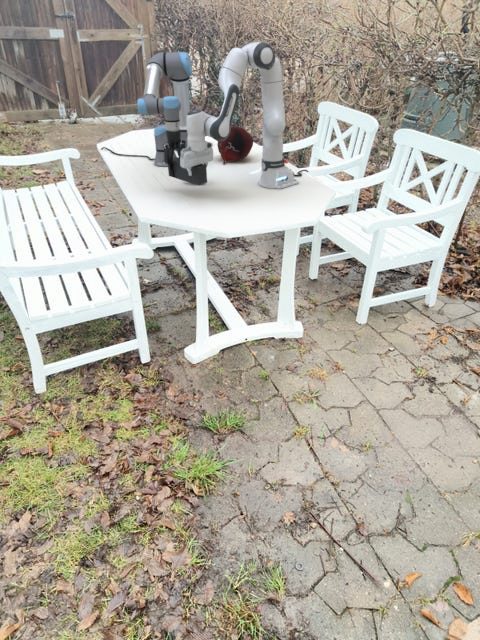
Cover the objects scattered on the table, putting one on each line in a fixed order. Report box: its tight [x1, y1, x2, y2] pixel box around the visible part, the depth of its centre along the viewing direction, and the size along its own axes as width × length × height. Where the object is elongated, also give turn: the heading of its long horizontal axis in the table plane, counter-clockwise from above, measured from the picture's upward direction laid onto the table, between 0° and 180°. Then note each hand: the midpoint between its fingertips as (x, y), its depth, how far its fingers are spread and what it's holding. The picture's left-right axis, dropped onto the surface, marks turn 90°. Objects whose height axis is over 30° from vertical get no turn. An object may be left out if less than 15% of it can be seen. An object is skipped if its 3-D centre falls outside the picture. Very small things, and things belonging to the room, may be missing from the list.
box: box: [167, 156, 208, 186], centre depth 237 cm, size 24×6×9 cm, turn 47°
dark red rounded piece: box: [217, 126, 254, 165], centre depth 296 cm, size 21×24×25 cm
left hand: (177, 175), depth 244 cm, fingers closed on box, 6 cm apart
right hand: (197, 173), depth 232 cm, fingers open, 8 cm apart
